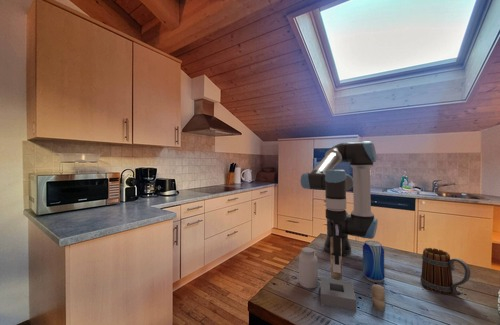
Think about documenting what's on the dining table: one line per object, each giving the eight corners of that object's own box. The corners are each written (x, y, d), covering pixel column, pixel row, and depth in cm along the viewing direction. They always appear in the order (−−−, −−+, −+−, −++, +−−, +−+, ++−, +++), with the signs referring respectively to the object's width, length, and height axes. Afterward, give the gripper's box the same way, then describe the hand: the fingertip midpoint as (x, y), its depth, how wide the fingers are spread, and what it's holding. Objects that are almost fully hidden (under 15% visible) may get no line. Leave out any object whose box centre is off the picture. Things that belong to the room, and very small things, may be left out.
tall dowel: (341, 275, 83) (340, 237, 83) (342, 280, 79) (341, 240, 79) (330, 273, 84) (330, 236, 84) (331, 278, 80) (330, 239, 80)
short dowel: (370, 302, 79) (370, 283, 79) (383, 304, 77) (382, 285, 78) (373, 309, 75) (373, 289, 75) (386, 311, 74) (386, 291, 74)
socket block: (320, 286, 89) (320, 277, 89) (351, 291, 85) (351, 281, 85) (320, 304, 78) (320, 293, 78) (356, 311, 74) (356, 300, 74)
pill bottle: (303, 290, 87) (303, 253, 87) (296, 279, 95) (296, 246, 95) (321, 288, 88) (321, 252, 88) (312, 277, 96) (312, 245, 96)
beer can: (387, 284, 90) (387, 247, 90) (366, 282, 92) (366, 245, 92) (379, 274, 98) (379, 240, 99) (360, 272, 100) (360, 239, 100)
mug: (414, 283, 91) (414, 248, 91) (429, 278, 95) (429, 245, 95) (462, 306, 76) (461, 264, 76) (477, 298, 80) (476, 259, 80)
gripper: (324, 204, 91) (325, 258, 91) (326, 213, 75) (326, 278, 75) (343, 205, 89) (344, 261, 88) (349, 214, 73) (349, 282, 72)
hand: (336, 269), depth 81 cm, fingers closed on tall dowel, 4 cm apart
